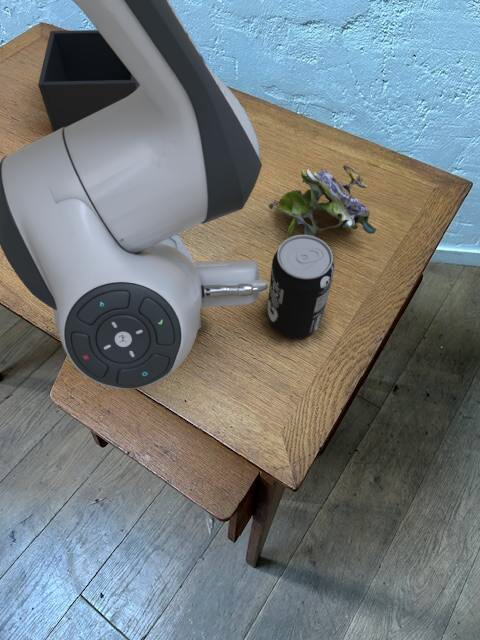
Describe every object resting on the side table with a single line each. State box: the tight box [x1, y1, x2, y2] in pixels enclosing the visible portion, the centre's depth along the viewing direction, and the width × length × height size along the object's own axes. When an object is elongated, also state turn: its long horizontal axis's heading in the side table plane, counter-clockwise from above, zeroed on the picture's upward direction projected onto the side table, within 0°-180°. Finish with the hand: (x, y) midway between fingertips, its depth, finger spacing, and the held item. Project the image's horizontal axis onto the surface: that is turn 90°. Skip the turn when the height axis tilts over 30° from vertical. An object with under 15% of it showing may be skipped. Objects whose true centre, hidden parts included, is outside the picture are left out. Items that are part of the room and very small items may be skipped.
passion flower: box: [268, 164, 377, 239], centre depth 71 cm, size 11×11×12 cm
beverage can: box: [266, 234, 335, 340], centre depth 62 cm, size 7×7×12 cm
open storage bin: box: [37, 29, 140, 133], centre depth 84 cm, size 13×13×9 cm
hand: (165, 273), depth 62 cm, fingers open, 8 cm apart
